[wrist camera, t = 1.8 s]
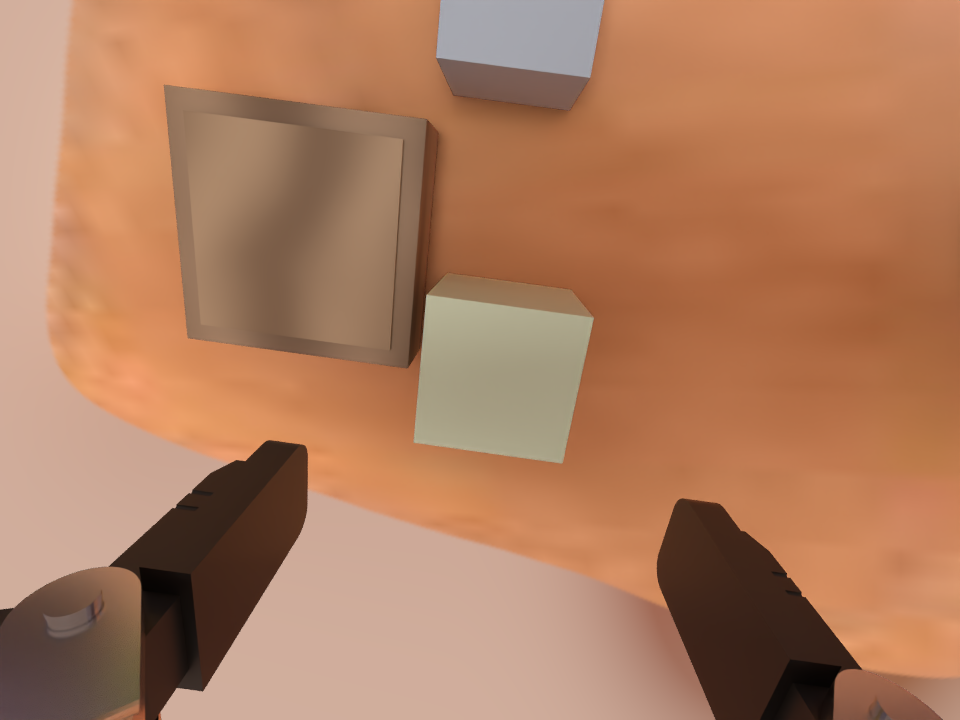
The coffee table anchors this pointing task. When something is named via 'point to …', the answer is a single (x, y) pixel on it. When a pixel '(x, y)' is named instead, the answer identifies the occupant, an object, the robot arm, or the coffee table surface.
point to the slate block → (519, 49)
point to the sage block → (500, 367)
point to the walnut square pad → (302, 224)
